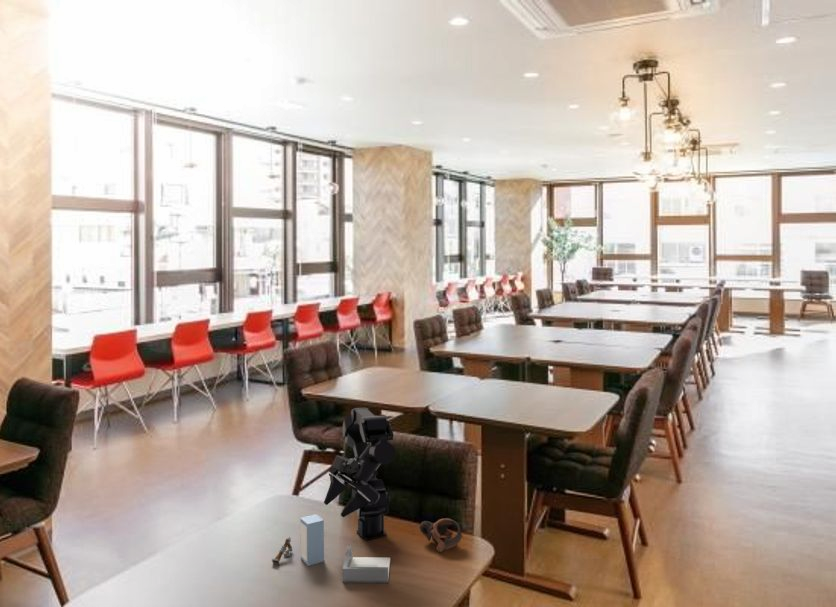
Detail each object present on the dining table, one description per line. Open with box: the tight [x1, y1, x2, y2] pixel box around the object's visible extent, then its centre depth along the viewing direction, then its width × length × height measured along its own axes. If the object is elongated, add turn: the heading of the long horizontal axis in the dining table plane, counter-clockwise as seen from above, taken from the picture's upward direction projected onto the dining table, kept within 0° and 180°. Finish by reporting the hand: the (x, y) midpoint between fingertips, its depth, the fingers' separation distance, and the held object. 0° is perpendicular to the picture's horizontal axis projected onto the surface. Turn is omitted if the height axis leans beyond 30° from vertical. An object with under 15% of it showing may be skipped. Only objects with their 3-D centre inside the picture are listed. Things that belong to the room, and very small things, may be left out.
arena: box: [342, 545, 391, 584], centre depth 167 cm, size 12×11×4 cm
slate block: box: [299, 513, 325, 567], centre depth 172 cm, size 5×4×11 cm
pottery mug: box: [419, 517, 463, 553], centre depth 182 cm, size 12×10×8 cm
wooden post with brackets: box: [271, 536, 293, 566], centre depth 173 cm, size 2×8×4 cm, turn 160°
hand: (333, 509), depth 175 cm, fingers open, 9 cm apart
